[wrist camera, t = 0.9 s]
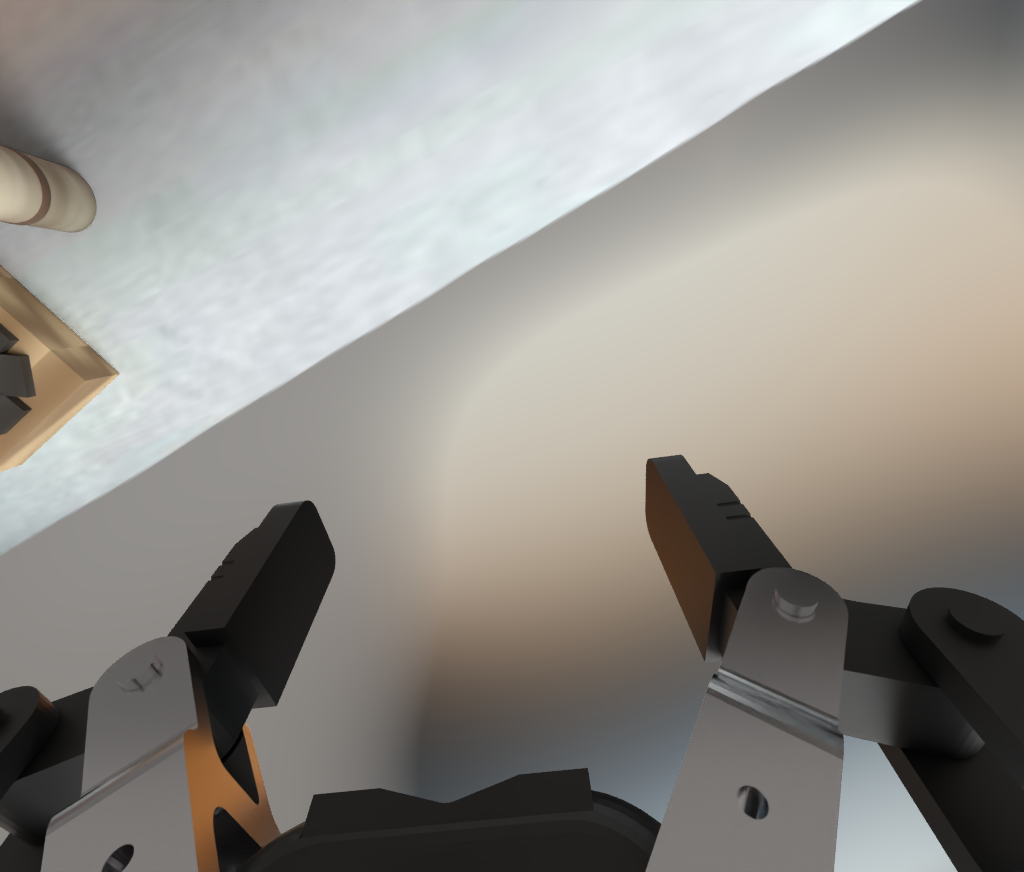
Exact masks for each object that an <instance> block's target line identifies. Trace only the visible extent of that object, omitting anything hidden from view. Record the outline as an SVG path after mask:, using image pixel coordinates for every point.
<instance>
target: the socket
mask: <svg viewBox="0 0 1024 872" xmlns="http://www.w3.org/2000/svg"><path fill="white" fill-rule="evenodd" d="M118 375H119V373H118V372H117V371H116V370H115V369H114V368H112V367H111V366H110V365H109V364H108V363H107V362H106V361H105V360H104V359H103V358H101V357H100V356H99V355H98V354H97V353H96V352H95V351H94V350H93V349H92V348H90V347H89V346H88V345H87V344H86V343H85V342H84V341H83V340H82V339H81V338H79V337H78V336H77V335H76V334H75V333H74V332H73V331H72V330H71V329H70V328H68V327H67V326H66V325H65V324H64V323H63V322H62V321H61V320H60V319H59V318H57V317H56V316H55V315H54V314H53V313H52V312H51V311H50V310H49V309H48V308H46V307H45V306H44V305H43V304H42V303H41V302H40V301H39V300H38V299H37V298H35V297H34V296H33V295H32V294H31V293H30V292H29V291H28V290H27V289H26V288H24V287H23V286H22V285H21V284H20V283H19V282H18V281H17V280H16V279H15V278H13V277H12V276H11V275H10V274H9V273H8V272H7V271H6V270H5V269H4V268H2V267H1V266H0V472H2V471H4V470H7V469H10V468H13V467H15V466H18V465H21V464H22V463H24V462H25V461H26V460H27V459H28V458H29V457H30V456H31V455H32V454H33V453H34V452H35V451H37V450H38V449H39V448H40V447H41V446H42V445H43V444H44V443H45V442H46V441H47V440H48V439H50V438H51V437H52V436H53V435H54V434H55V433H56V432H57V431H58V430H59V429H60V428H61V427H63V426H64V425H65V424H66V423H67V422H68V421H69V420H70V419H71V418H72V417H73V416H74V415H76V414H77V413H78V412H79V411H80V410H81V409H82V408H83V407H84V406H85V405H86V404H87V403H89V402H90V401H91V400H92V399H93V398H94V397H95V396H96V395H97V394H98V393H99V392H100V391H102V390H103V389H104V388H105V387H106V386H107V385H108V384H109V383H110V382H111V381H112V380H113V379H115V378H116V377H117V376H118Z"/></svg>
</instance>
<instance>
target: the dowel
mask: <svg viewBox="0 0 1024 872" xmlns="http://www.w3.org/2000/svg"><path fill="white" fill-rule="evenodd" d="M95 215H96V200H95V197H94V194H93V192H92V190H91V188H90V186H89V185H88V183H87V182H86V181H85V180H84V179H83V178H82V177H81V176H80V175H79V174H78V173H76V172H75V171H73V170H72V169H70V168H67V167H65V166H62V165H59V164H55V163H52V162H49V161H46V160H43V159H40V158H37V157H34V156H31V155H28V154H25V153H22V152H19V151H17V150H15V149H12V148H9V147H6V146H3V145H0V221H2V222H5V223H11V224H17V225H28V226H34V227H40V228H46V229H52V230H58V231H64V232H79V231H82V230H84V229H86V228H87V227H88V226H90V225H91V223H92V222H93V220H94V218H95Z"/></svg>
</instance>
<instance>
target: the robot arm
mask: <svg viewBox="0 0 1024 872" xmlns="http://www.w3.org/2000/svg"><path fill="white" fill-rule="evenodd" d="M645 507H646V508H645V512H646V522H647V527H648V531H649V534H650V537H651V540H652V542H653V544H654V547H655V549H656V551H657V553H658V556H659V558H660V560H661V562H662V565H663V567H664V570H665V572H666V574H667V576H668V579H669V581H670V583H671V585H672V588H673V590H674V592H675V595H676V597H677V599H678V602H679V604H680V606H681V608H682V611H683V613H684V615H685V618H686V620H687V622H688V625H689V627H690V629H691V631H692V634H693V636H694V638H695V640H696V643H697V645H698V647H699V650H700V652H701V654H702V657H703V659H704V661H705V662H714V661H722V662H721V665H720V668H719V671H718V673H717V675H716V674H714V675H713V677H712V679H711V681H710V683H709V686H708V689H707V692H706V694H705V697H704V701H703V703H702V707H701V709H700V712H699V715H698V718H697V721H696V724H695V727H694V730H693V733H692V736H691V739H690V742H689V745H688V748H687V751H686V754H685V757H684V760H683V763H682V765H681V768H680V771H679V774H678V777H677V780H676V783H675V786H674V789H673V792H672V795H671V798H670V801H669V804H668V807H667V809H666V812H665V815H664V818H663V821H662V824H661V823H659V822H658V821H656V820H655V819H654V818H652V817H651V816H649V815H648V814H647V813H645V812H644V811H642V810H641V809H639V808H637V807H635V806H634V805H632V804H630V803H628V802H626V801H624V800H622V799H619V798H617V797H614V796H611V795H609V794H606V793H602V792H597V791H593V790H591V786H590V780H589V773H588V768H582V769H573V770H563V771H552V772H542V773H531V774H521V775H517V776H515V777H512V778H510V779H507V780H505V781H503V782H500V783H498V784H495V785H493V786H490V787H488V788H486V789H483V790H481V791H478V792H476V793H473V794H471V795H469V796H466V797H464V798H461V799H459V800H456V801H454V802H450V803H439V802H435V801H431V800H426V799H423V798H418V797H414V796H410V795H406V794H402V793H397V792H393V791H389V790H385V789H381V788H378V789H368V790H357V791H348V792H337V793H326V794H318V795H317V794H316V795H314V796H313V799H312V802H311V805H310V809H309V812H308V815H307V818H306V821H305V822H303V823H301V824H299V825H297V826H295V827H294V828H292V829H290V830H288V831H286V832H285V833H283V834H281V833H280V831H279V829H278V827H277V825H276V823H275V821H274V818H273V815H272V813H271V809H270V806H269V802H268V798H267V794H266V790H265V786H264V782H263V778H262V775H261V770H260V766H259V763H258V759H257V755H256V751H255V747H254V743H253V739H252V735H251V731H250V729H249V727H248V726H247V725H246V723H245V722H246V719H247V718H248V715H249V713H250V711H251V709H253V708H263V707H272V706H277V704H278V702H279V699H280V697H281V695H282V692H283V690H284V688H285V685H286V683H287V681H288V678H289V676H290V674H291V671H292V669H293V667H294V665H295V662H296V660H297V657H298V655H299V653H300V651H301V648H302V646H303V643H304V641H305V639H306V637H307V634H308V632H309V630H310V627H311V625H312V622H313V620H314V618H315V616H316V613H317V611H318V609H319V606H320V604H321V602H322V599H323V597H324V595H325V592H326V590H327V587H328V585H329V583H330V581H331V578H332V576H333V573H334V569H335V552H334V548H333V546H332V544H331V541H330V539H329V536H328V534H327V532H326V530H325V527H324V525H323V523H322V520H321V518H320V516H319V513H318V511H317V509H316V507H315V505H314V504H313V503H312V502H311V501H300V502H292V503H284V504H277V505H275V506H274V507H273V508H272V509H271V510H270V512H269V513H268V514H267V516H266V517H265V519H264V520H263V522H262V523H261V524H260V526H259V527H258V528H255V529H253V530H252V531H251V532H250V533H249V534H247V535H246V536H245V537H244V538H242V539H241V540H240V541H239V542H238V543H236V544H235V546H234V547H233V548H232V549H231V551H230V552H229V554H228V555H227V556H226V558H225V559H224V560H223V562H222V566H219V567H218V568H217V570H216V571H215V573H214V574H213V575H212V576H211V578H212V579H211V581H208V582H207V583H206V585H205V586H204V587H203V589H202V590H201V591H200V593H199V594H198V595H197V597H196V598H195V599H194V601H193V602H192V604H191V605H190V606H189V607H188V609H187V610H186V612H185V613H184V614H183V616H182V617H181V618H180V620H179V621H178V622H177V624H176V625H175V627H174V628H173V629H172V630H171V632H170V633H169V635H168V636H167V637H161V638H157V639H154V640H151V641H149V642H146V643H144V644H142V645H140V646H138V647H136V648H135V649H133V650H131V651H130V652H128V653H127V654H125V655H124V656H122V657H121V658H120V659H119V660H117V661H116V662H115V663H114V664H113V665H112V666H110V668H108V669H107V670H106V671H105V673H104V674H103V675H102V676H101V677H100V679H99V680H98V681H97V683H96V684H95V686H94V687H91V688H89V689H86V690H83V691H81V692H78V693H75V694H72V695H70V696H67V697H64V698H61V699H59V700H56V701H53V702H50V701H49V700H48V699H47V698H46V697H45V696H44V695H43V694H42V693H41V692H40V691H39V690H38V689H36V688H34V687H31V686H22V687H17V688H13V689H10V690H7V691H4V692H2V693H0V827H2V828H3V829H5V830H6V831H8V832H9V833H10V834H9V835H8V837H7V838H6V839H5V841H4V842H3V844H2V845H1V846H0V872H834V862H835V850H836V839H837V826H838V815H839V803H840V792H841V780H842V768H843V756H844V737H843V735H847V736H851V737H856V738H860V739H864V740H869V741H873V742H877V743H878V744H879V746H880V748H881V749H882V751H883V752H884V754H885V756H886V757H887V759H888V760H889V762H890V764H891V765H892V767H893V768H894V770H895V772H896V773H897V775H898V777H899V778H900V780H901V781H902V783H903V784H904V786H905V788H906V789H907V791H908V793H909V794H910V796H911V797H912V799H913V801H914V802H915V804H916V805H917V807H918V808H919V810H920V812H921V813H922V815H923V816H924V818H925V820H926V821H927V823H928V825H929V826H930V828H931V829H932V831H933V833H934V834H935V836H936V838H937V839H938V841H939V842H940V844H941V845H942V847H943V849H944V850H945V852H946V853H947V855H948V857H949V858H950V860H951V862H952V863H953V865H954V866H955V868H956V870H957V871H958V872H1024V621H1023V620H1022V619H1021V618H1019V617H1018V616H1017V615H1015V614H1014V613H1012V612H1011V611H1009V610H1008V609H1006V608H1004V607H1003V606H1001V605H999V604H997V603H995V602H993V601H991V600H989V599H986V598H984V597H981V596H978V595H976V594H973V593H969V592H966V591H962V590H957V589H952V588H927V589H924V590H921V591H919V592H917V593H915V594H914V596H913V597H912V598H911V600H910V603H909V605H908V607H907V609H903V608H897V607H890V606H883V605H876V604H869V603H862V602H856V601H850V600H846V599H842V597H841V596H840V595H839V594H838V592H836V591H835V590H834V589H833V588H832V587H831V586H830V585H828V584H827V583H826V582H824V581H822V580H821V579H819V578H818V577H815V576H813V575H811V574H809V573H806V572H803V571H800V570H796V569H793V568H792V567H791V566H790V564H789V563H788V562H787V561H786V559H785V558H784V557H783V555H782V554H781V553H780V552H779V550H778V549H777V548H776V547H775V546H774V544H773V543H772V541H771V540H770V539H769V537H768V536H767V535H766V534H765V532H764V531H763V530H762V528H761V527H760V526H759V525H758V523H757V522H756V521H755V519H754V518H751V516H750V513H749V512H748V510H747V509H746V508H745V506H744V505H743V504H741V503H740V500H739V499H738V498H737V496H736V495H735V494H734V492H733V491H732V490H731V488H730V487H729V486H728V485H727V484H725V483H723V482H722V481H720V480H719V479H717V478H715V477H714V476H712V475H711V474H709V473H707V474H698V475H696V474H695V472H694V471H693V469H692V468H691V467H690V465H689V464H688V462H687V461H686V459H685V458H684V457H683V456H682V455H675V456H667V457H659V458H651V459H648V460H647V464H646V506H645Z"/></svg>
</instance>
